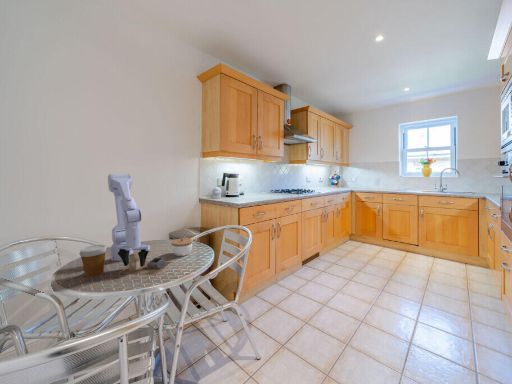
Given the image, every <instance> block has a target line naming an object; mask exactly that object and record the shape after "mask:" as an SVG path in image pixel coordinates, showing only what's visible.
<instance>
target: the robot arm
mask: <svg viewBox="0 0 512 384" xmlns="http://www.w3.org/2000/svg"><path fill="white" fill-rule="evenodd" d="M107 184H108V190H109V192H111V193H113V196H114V201H115V202H114V203H115V209H116V210H115V212H116V219H117V220H116V221H117V224H116V225H115V226H114V227H112V230H111V238H112V239H111V240H112V245H111V246H110V261H118V262H122V263H123V266H124V267H128V266H129V255H131V254H132V253H134V251H139V252H138V255H139V258H140V266H141V267H142V266H144V265H145V261H147V256H148V254H149V252H150V250H151V245H148V244H141V241H142V240H141V223H140V222H141V221H142V213H141V209H139V207H138V206H137V204H136V200H135V198H134V197H132V196H131V190H130V189H132V185H133V177H132V175H131V174H130V173H128V174H111V173H110V174H108V175H107Z"/></svg>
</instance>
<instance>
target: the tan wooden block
mask: <svg viewBox="0 0 512 384" xmlns="http://www.w3.org/2000/svg"><path fill="white" fill-rule="evenodd" d="M128 266H129V271H135V270H137V269H138V268H139V267H140V258H139V255H138V252H137V251H136V252H134V251H133V253H132V254H131V255H129V265H128Z"/></svg>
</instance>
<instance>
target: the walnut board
mask: <svg viewBox="0 0 512 384" xmlns="http://www.w3.org/2000/svg"><path fill="white" fill-rule="evenodd" d="M149 261H150V260H145V265H144V266H142V267H141V266H140V267H139V268H138V269H137V270H135V271H129V265H127V266H125V268H123V269H121V270H120V271H118V272H116V274H117V275H150V276H153V275H154V276H157V275H159V274H160V272H162V271H163V270H164V269H165V268H166V267H168V265H169V264H171V263H172V261H166V262H167V263H166V264H165V265H164V266H163V267H162V268H160V269H145V267H146V266H147V263H148V262H149Z"/></svg>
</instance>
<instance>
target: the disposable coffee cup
mask: <svg viewBox="0 0 512 384" xmlns="http://www.w3.org/2000/svg"><path fill="white" fill-rule="evenodd" d="M107 249H108V248H107V247H106V245H104V244H98V245H97V244H96V245H90V246H86V247H84V248H81V249H80V252H79V253H78V254H79V256H80V257H81V258H80V259H81V262H82V266H83V270H84V275H85V277H89V278H90V277H97V276H99V275H101V274H103V273H104V271H105V261H106V252H107Z"/></svg>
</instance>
